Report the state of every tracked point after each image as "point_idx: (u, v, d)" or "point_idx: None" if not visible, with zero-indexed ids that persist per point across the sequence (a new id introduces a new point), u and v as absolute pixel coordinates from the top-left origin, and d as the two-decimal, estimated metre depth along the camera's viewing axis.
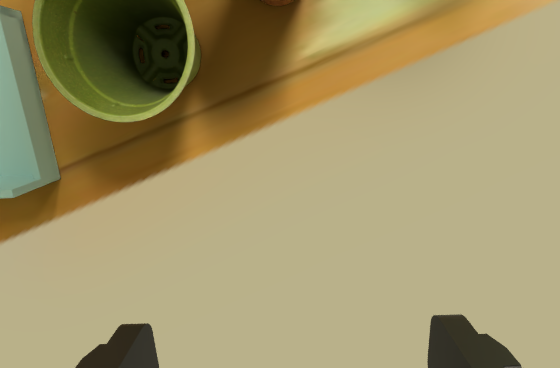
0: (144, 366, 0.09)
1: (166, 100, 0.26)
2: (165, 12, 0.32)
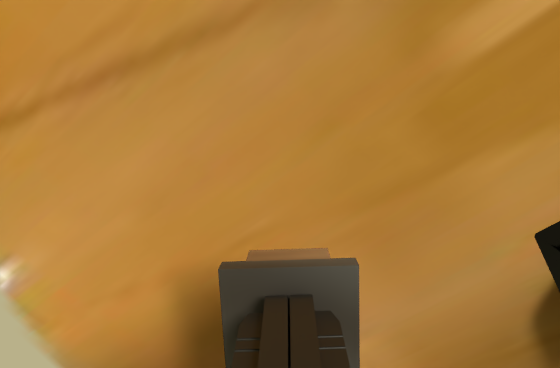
0: (289, 333, 0.10)
1: None
2: None
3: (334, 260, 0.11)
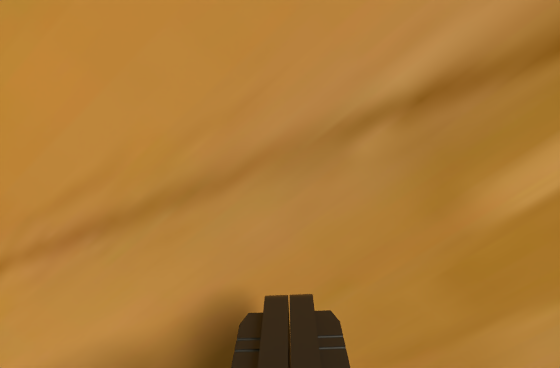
0: (289, 333, 0.10)
1: None
2: None
3: None
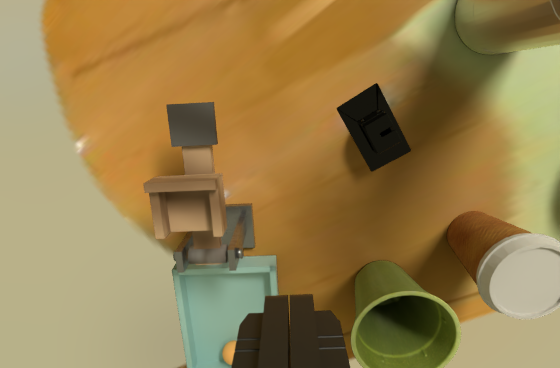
0: (289, 333, 0.10)
1: None
2: (391, 266, 0.45)
3: None
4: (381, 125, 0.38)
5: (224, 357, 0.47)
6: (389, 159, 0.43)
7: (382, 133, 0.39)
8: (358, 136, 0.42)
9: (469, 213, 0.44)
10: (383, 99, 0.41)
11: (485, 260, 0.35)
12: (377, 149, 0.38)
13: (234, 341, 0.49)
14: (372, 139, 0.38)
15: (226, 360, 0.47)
